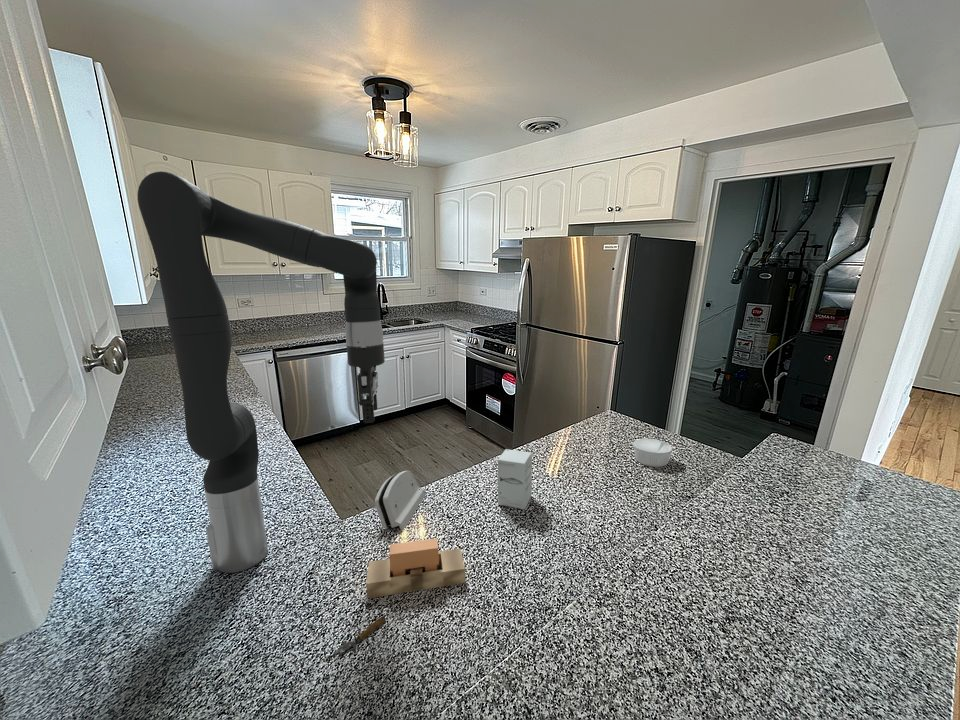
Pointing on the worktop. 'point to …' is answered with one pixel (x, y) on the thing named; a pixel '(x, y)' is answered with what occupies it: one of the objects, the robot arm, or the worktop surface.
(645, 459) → the ramekin
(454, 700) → the worktop surface
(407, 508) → the grey piece
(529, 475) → the supplement box
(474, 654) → the worktop surface
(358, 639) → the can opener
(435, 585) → the rail
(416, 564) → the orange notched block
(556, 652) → the worktop surface
